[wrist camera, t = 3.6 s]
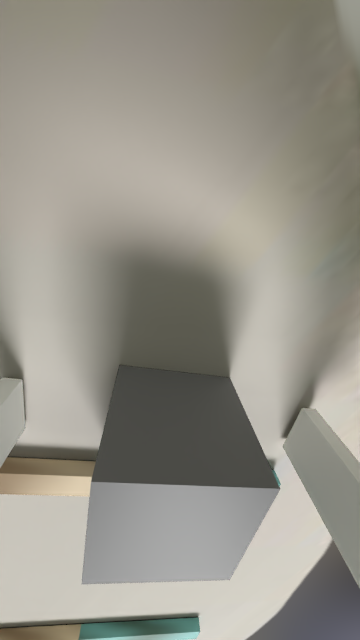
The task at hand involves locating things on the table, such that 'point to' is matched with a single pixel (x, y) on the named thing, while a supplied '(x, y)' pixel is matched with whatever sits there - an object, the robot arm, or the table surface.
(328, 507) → the robot arm
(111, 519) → the block
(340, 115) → the table surface
